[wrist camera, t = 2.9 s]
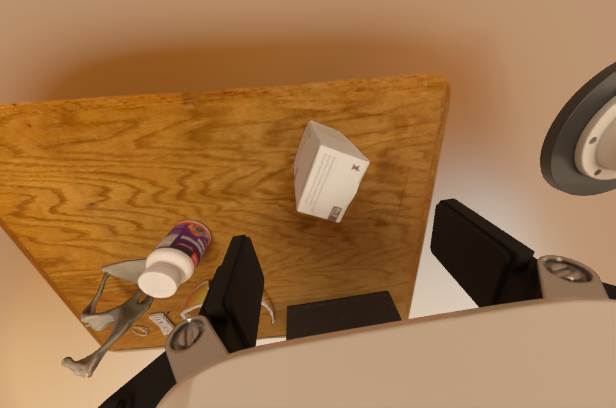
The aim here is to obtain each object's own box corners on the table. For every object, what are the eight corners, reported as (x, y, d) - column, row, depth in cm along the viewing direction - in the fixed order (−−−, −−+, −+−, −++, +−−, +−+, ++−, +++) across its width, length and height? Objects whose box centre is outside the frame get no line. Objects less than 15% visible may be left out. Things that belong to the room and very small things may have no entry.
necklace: (166, 333, 43) (189, 330, 42) (164, 337, 42) (188, 333, 42) (147, 312, 40) (172, 308, 39) (145, 316, 39) (170, 311, 39)
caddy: (388, 290, 41) (407, 331, 34) (387, 315, 44) (404, 356, 37) (287, 306, 41) (285, 349, 34) (294, 329, 45) (294, 373, 38)
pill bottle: (219, 240, 33) (193, 292, 25) (190, 253, 34) (155, 308, 26) (196, 213, 31) (158, 260, 22) (165, 227, 32) (118, 278, 23)
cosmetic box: (307, 118, 26) (317, 138, 15) (342, 131, 27) (373, 158, 16) (292, 166, 29) (291, 211, 18) (323, 176, 29) (340, 225, 19)
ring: (127, 330, 41) (139, 328, 40) (131, 325, 42) (143, 323, 41) (137, 338, 42) (149, 336, 41) (141, 333, 43) (152, 331, 42)
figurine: (118, 291, 37) (20, 404, 24) (98, 262, 34) (-27, 373, 21) (182, 285, 37) (121, 393, 24) (168, 256, 34) (89, 361, 21)
